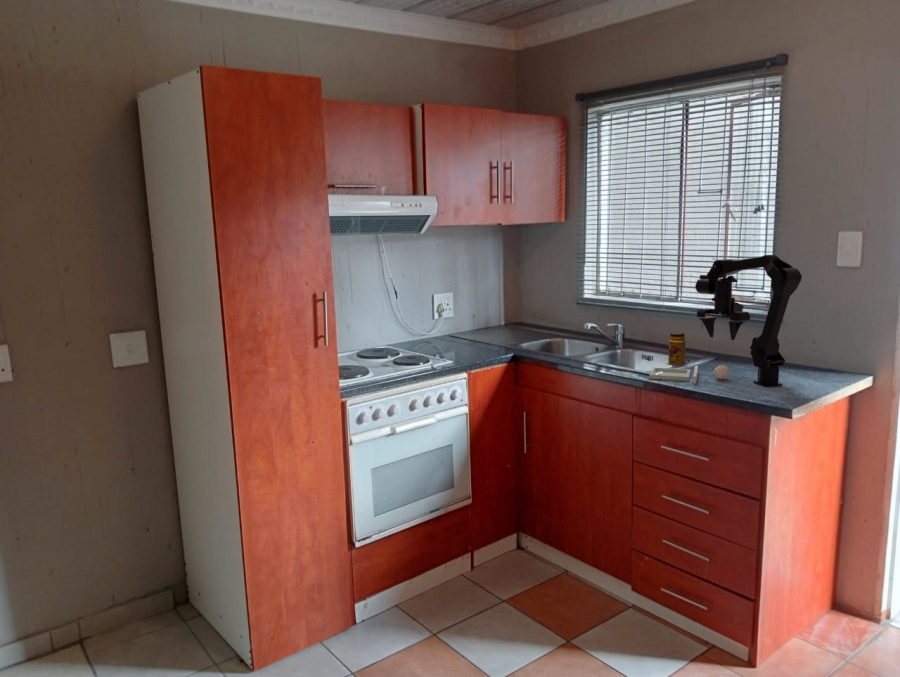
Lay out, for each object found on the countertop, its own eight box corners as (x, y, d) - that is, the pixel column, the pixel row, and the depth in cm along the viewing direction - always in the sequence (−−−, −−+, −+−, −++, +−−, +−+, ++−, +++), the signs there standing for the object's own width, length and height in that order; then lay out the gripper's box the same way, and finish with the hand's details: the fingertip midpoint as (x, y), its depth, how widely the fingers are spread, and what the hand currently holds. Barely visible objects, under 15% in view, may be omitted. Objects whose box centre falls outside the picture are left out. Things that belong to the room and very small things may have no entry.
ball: (732, 380, 235) (733, 366, 234) (719, 381, 234) (719, 367, 233) (723, 377, 240) (724, 363, 239) (710, 378, 239) (711, 364, 238)
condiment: (666, 364, 263) (667, 334, 261) (668, 360, 270) (669, 330, 268) (686, 366, 260) (687, 335, 258) (688, 361, 267) (689, 331, 265)
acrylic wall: (696, 383, 232) (696, 376, 231) (693, 383, 232) (693, 376, 232) (697, 372, 248) (698, 365, 248) (694, 372, 249) (695, 365, 248)
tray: (688, 381, 235) (688, 377, 235) (649, 379, 240) (649, 374, 239) (690, 373, 247) (690, 369, 247) (652, 371, 252) (653, 367, 251)
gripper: (761, 294, 237) (760, 339, 239) (717, 292, 253) (716, 333, 256) (739, 297, 232) (738, 342, 234) (696, 294, 248) (695, 336, 251)
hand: (722, 338), depth 244 cm, fingers open, 9 cm apart
